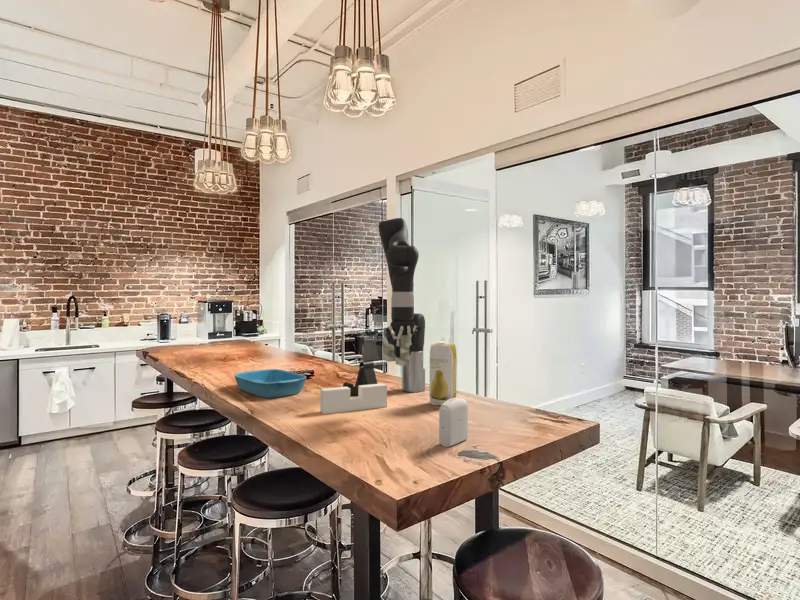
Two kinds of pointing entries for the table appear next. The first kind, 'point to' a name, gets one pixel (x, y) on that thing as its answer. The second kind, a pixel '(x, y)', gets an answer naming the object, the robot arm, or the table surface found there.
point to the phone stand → (366, 374)
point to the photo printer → (453, 422)
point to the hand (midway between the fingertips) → (402, 356)
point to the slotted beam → (353, 398)
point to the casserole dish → (270, 382)
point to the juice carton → (442, 372)
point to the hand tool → (351, 388)
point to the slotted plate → (389, 350)
